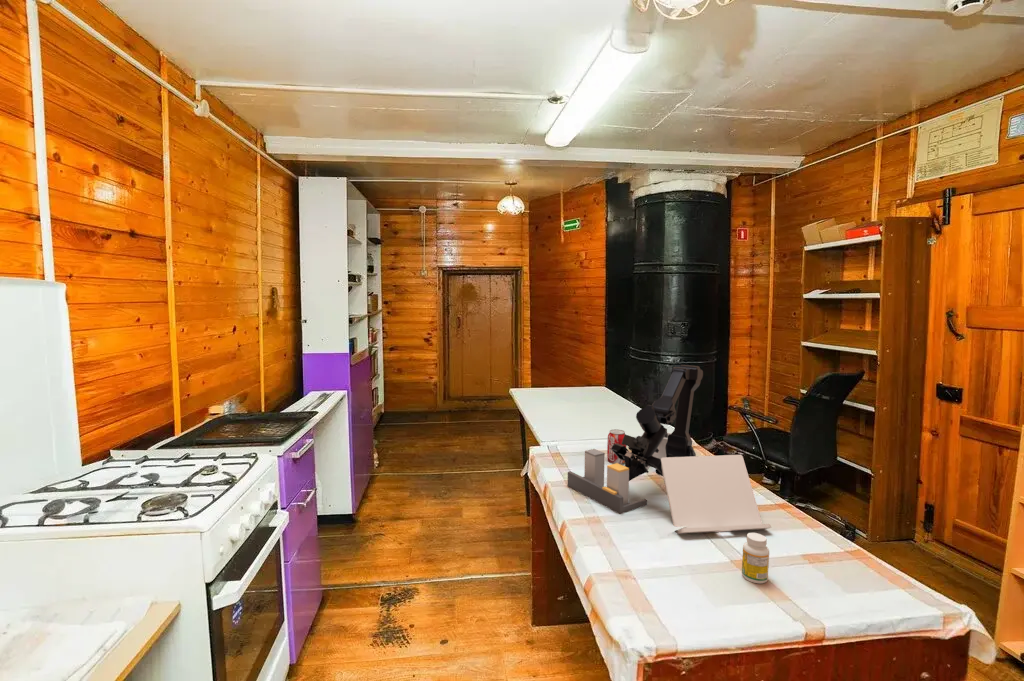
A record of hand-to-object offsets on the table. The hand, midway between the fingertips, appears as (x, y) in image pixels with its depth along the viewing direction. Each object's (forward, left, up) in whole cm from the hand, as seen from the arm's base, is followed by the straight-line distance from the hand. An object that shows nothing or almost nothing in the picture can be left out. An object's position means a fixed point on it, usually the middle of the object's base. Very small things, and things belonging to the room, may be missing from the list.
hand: (623, 482), depth 147 cm
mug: (-13, -45, -8) cm, 48 cm away
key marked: (+2, +2, -6) cm, 7 cm away
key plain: (+9, -11, -6) cm, 16 cm away
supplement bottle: (-29, +31, -8) cm, 43 cm away
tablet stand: (-24, +4, -8) cm, 26 cm away
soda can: (+3, -39, -8) cm, 40 cm away
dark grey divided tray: (+5, -5, -8) cm, 11 cm away
